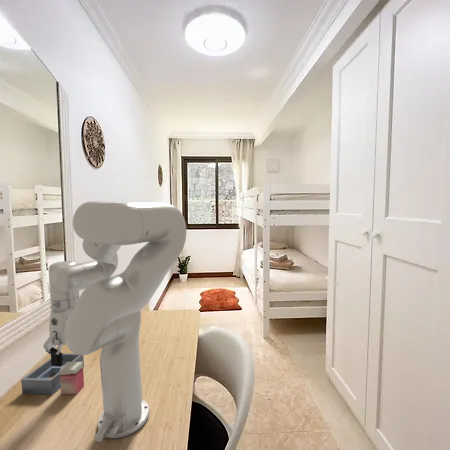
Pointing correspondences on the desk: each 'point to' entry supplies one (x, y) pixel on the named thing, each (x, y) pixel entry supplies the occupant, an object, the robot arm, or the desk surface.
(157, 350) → the desk surface
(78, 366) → the small box
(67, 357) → the walled box
